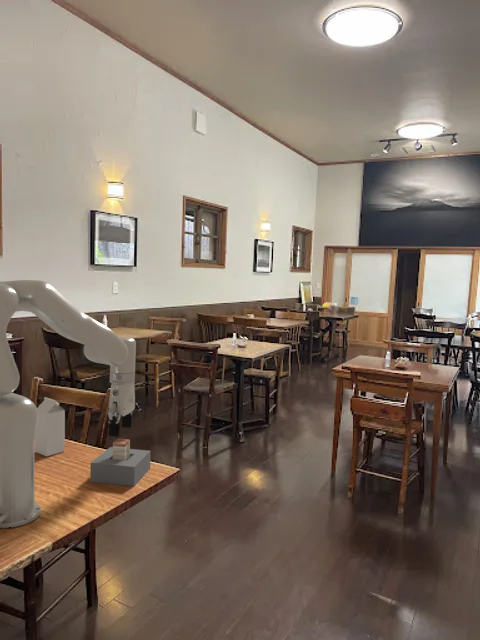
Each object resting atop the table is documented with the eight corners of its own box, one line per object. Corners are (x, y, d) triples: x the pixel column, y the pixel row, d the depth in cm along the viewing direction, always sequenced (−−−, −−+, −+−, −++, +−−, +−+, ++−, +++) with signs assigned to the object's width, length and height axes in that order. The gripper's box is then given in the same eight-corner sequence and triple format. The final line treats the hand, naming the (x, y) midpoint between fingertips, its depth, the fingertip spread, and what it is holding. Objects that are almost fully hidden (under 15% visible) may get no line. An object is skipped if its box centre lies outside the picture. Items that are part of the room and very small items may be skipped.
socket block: (134, 486, 144) (134, 466, 144) (90, 481, 146) (90, 462, 146) (150, 468, 158) (150, 450, 158) (109, 464, 160) (110, 447, 160)
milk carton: (46, 457, 165) (46, 402, 164) (35, 452, 169) (35, 399, 168) (64, 451, 171) (65, 399, 169) (53, 447, 175) (53, 395, 173)
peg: (124, 478, 150) (125, 443, 149) (112, 477, 150) (112, 442, 150) (129, 473, 154) (129, 439, 153) (117, 472, 154) (117, 438, 154)
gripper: (122, 383, 141) (120, 440, 142) (143, 373, 158) (141, 425, 159) (98, 381, 142) (96, 438, 143) (122, 371, 159) (120, 423, 160)
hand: (120, 431), depth 151 cm, fingers open, 9 cm apart
